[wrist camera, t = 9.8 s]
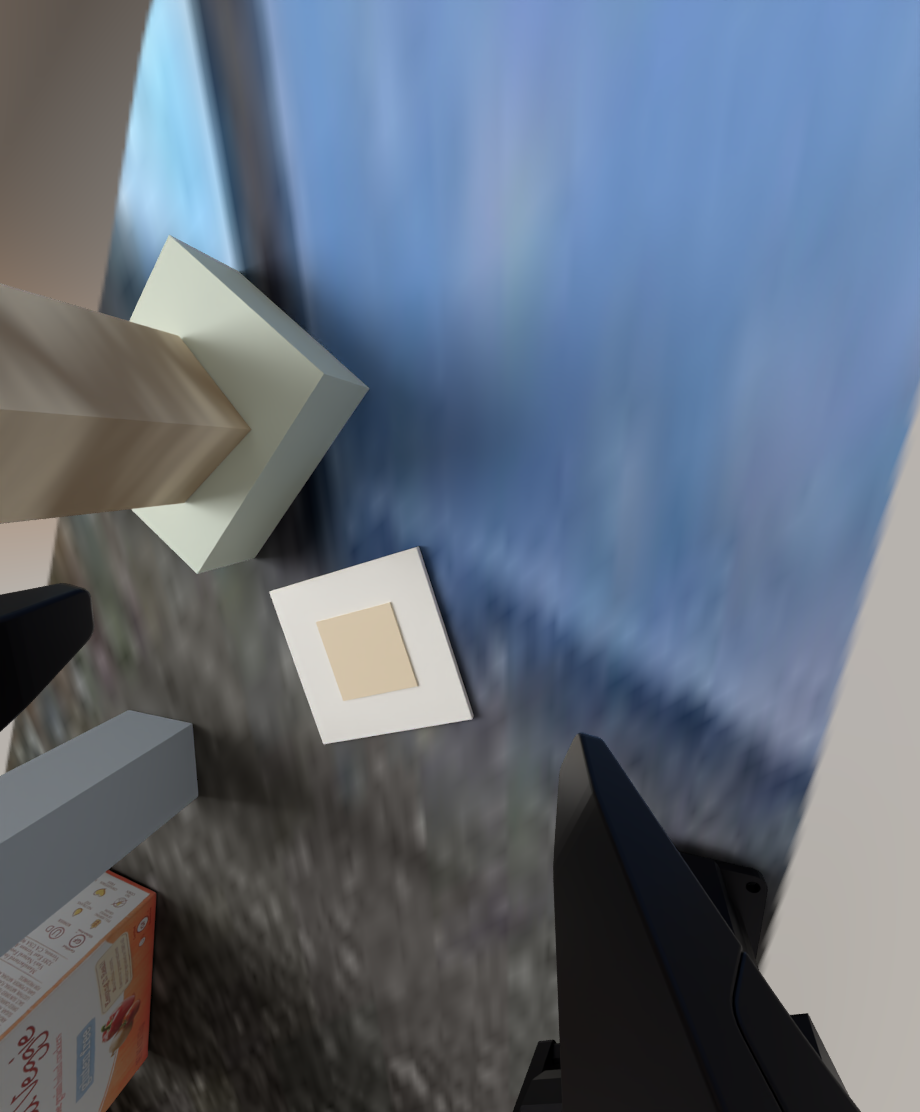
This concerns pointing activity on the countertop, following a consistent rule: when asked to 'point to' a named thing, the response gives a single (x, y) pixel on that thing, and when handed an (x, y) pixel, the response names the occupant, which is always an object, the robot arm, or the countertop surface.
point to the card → (372, 649)
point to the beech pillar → (101, 413)
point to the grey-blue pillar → (86, 812)
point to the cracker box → (78, 1001)
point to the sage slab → (244, 404)
